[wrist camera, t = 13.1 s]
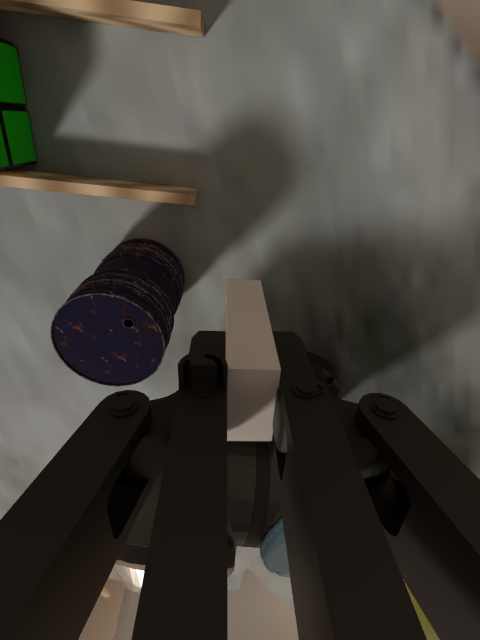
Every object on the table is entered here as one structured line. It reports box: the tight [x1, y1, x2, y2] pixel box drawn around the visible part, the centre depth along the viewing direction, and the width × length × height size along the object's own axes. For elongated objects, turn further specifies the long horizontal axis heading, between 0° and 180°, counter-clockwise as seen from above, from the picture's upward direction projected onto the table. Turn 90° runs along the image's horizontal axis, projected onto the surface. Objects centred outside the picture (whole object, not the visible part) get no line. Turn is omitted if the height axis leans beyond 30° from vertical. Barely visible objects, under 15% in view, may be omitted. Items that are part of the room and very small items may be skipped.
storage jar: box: [51, 238, 185, 386], centre depth 36 cm, size 10×10×15 cm
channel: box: [0, 0, 204, 206], centre depth 26 cm, size 27×15×15 cm, turn 84°
